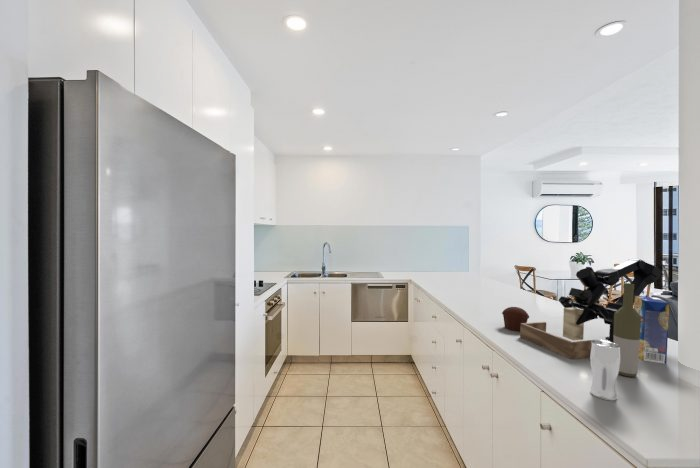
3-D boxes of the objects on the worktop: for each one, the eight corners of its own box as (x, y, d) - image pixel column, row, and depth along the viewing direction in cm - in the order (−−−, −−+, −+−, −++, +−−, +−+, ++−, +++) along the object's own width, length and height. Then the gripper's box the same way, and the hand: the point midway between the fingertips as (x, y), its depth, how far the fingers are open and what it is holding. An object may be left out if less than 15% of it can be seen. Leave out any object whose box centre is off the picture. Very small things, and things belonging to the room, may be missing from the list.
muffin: (530, 328, 161) (530, 307, 161) (527, 334, 152) (528, 312, 152) (503, 323, 167) (503, 303, 167) (499, 329, 158) (500, 308, 158)
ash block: (572, 335, 142) (573, 307, 142) (583, 339, 138) (584, 310, 137) (562, 336, 141) (563, 308, 141) (573, 340, 136) (574, 311, 136)
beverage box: (654, 353, 131) (657, 297, 130) (666, 364, 121) (669, 303, 120) (632, 350, 134) (634, 295, 133) (642, 360, 124) (645, 300, 123)
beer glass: (582, 389, 100) (584, 339, 100) (604, 389, 100) (606, 339, 100) (601, 401, 93) (604, 348, 93) (625, 401, 94) (627, 347, 93)
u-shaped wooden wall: (543, 335, 151) (544, 321, 151) (598, 356, 127) (599, 340, 127) (520, 337, 147) (520, 323, 147) (571, 359, 123) (572, 343, 123)
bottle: (640, 380, 107) (645, 286, 106) (612, 374, 111) (616, 284, 110) (636, 372, 113) (640, 283, 112) (610, 367, 117) (613, 281, 116)
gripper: (562, 277, 149) (541, 304, 146) (604, 285, 131) (581, 315, 128) (575, 294, 151) (555, 320, 148) (619, 304, 133) (596, 334, 130)
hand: (570, 322), depth 139 cm, fingers closed on ash block, 5 cm apart
